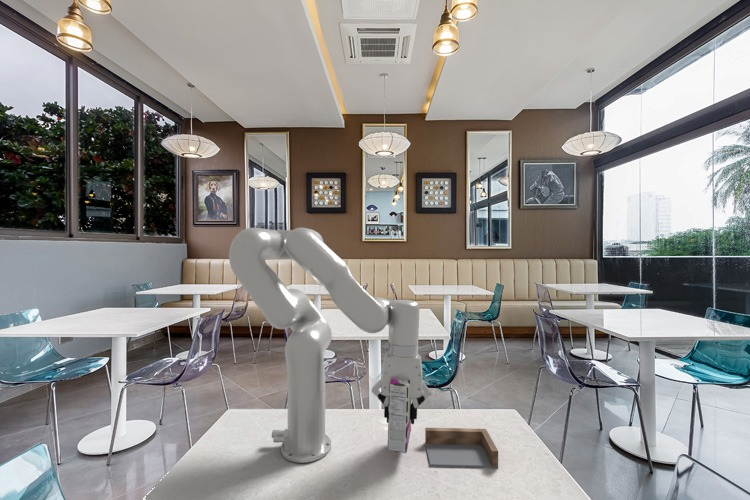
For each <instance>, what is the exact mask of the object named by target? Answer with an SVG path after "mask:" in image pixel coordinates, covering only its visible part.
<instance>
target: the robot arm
mask: <svg viewBox="0 0 750 500" xmlns="http://www.w3.org/2000/svg"><path fill="white" fill-rule="evenodd" d="M228 260H229V265H230V269H231V270H232V273H233V274H234V276H235V277H236V279H237V281H238V282H239V283H240V284H241V285H242V287H243V288H244V290H245V291H246V292H247V294H248V295H249V297H250V298H251V300H252V301H253V302H254V304H255V305H256V306H257V308H258V310H260V312H261V313H262V315H263V316H264V319H265V320H266V321H267V323H268V324H270V326H271V327H273V328H274V329H278V330H286V329H289V328H290V330H291V331H292V332H291V333H290V335H289V337H288V338H287V340H286V343H285V347H284V355H285V363H286V373H287V428H284V430H283V429H282V430H281V429H272V431H271V439H272V441H273V443H277V444H278V443H281V446H280V448H281V449H280V453H281V455H282V457H283V458H284V459H286V460H287V461H288V462H293V463H297V464H304V463H305V464H306V463H310V462H311V463H312V462H316V461H317V460H320V459H322V458H324V457H326V455H328V453H329V452H330V450H331V448H332V440H331V438H330V437H329V436H328V435H327V434H326V372H325V371H326V370H325V368H326V367H325V360H324V359H325V358H324V357H325V356H324V355H325V353H326V351H327V349H328V347H329V346H330V344H331V342H332V338H333V334H332V333H333V332H332V330H331V327H330V326H329V324H328V322H327V320H326V319H325V317H324V316H323V315H322V314H321V312H320V311H319V310H318V308H317V307H316V305H315V304H314V303H313V302H312V300H311V299H310V297H309V296H308V295H307V294H305V293H304V292H303V291H302V290H300V289H297V288H288V287H286V285H285V283H283V282H282V280H281V278H280V277H279V275H278V274H277V273H276V272H275V271H274V270H273V269H272V268H271V267H270V266H269V264H267V262H266V260H268V261H269V260H293V261H294V262H295V263H296V264H298V266H300V267H301V268H302V270H304V271H305V272H306V273H307V274H308V275H309V276H310V277H312V279H314V281H316V283H317V284H319V286H320V287H321V288H322V289H323V290H324V292H325V294H326V295H327V296H328V297H329V298H330V299H331V301H332V302H333V303H334V304H335V306H336V307H337V308H338V310H340V311H341V312H342V313H343V315H345V317H347V318H348V320H349V321H351V322H352V323H353V324H354V325H355V326H356V327H358V329H360V330H361V331H363V332H365V333H367V334H376V333H378V334H379V333H380V332H382V331H383V330H384V329H385V328H386V326H388V342H386V343H382V350H385V351H386V352H385V353H384V356H383V357H384V358H383V362H382V363H383V364H382V369H381V371H382V373H381V378H380V379H379V380H378V381H377V382H376V383H375V384H374V385H373V387H371V393H372V394H373V395H374V396H376V397H377V399H378V400H379V401H380V402H381V403H382V404H383V407H384V409H383V410H384V411H383V413H384V414H383V418H384V419H385V418H386V424H387V423H388V418H389V383H390V381H391V380H409V381H410V398H412V404H411V417H410V419H411V425H415V420H417V419H418V409H419V407H420V406H421V405H422V404H423V403H424V402H425V400H427V399H428V398H430V397H431V396H432V391H431V390H430V389H429V387H428V386H427V385H426V383H425V382H424V381H423V365H422V363H423V362H422V356H421V355H420V354H419V332H420V331H419V328H420V305H419V303H418V302H417V301H415V300H413V299H412V300H411V299H390V298H385V297H379V296H371V295H370V294H369V292H367V291H366V290H365V289H364V288H363V287H362V286H361V285H360V284H359V282H358V281H357V280H356V279H355V278H354V276H353V275H352V272H351V271H350V267H349V266H348V264H347V263H346V261H344V260H343V259H342V258H341V257H340V256H339V255H337V254H336V253H335V252H334V251H333V249H331V248H330V247H329V246H328V245H327V244H326V243H325V241H324V239H323V237H322V235H321V234H320V233H319V232H317V231H316V230H314V229H311V228H307V227H296V228H294V229H289V230H288V229H268V228H261V227H248V228H245V229H243V230H241V231H239V232H238V233H237V234H236V236H235V237H234V238H233V240H232V242H231V243H230V247H229V252H228Z"/></svg>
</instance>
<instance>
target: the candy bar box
mask: <svg viewBox="0 0 750 500" xmlns="http://www.w3.org/2000/svg"><path fill="white" fill-rule="evenodd" d="M411 404H412V398H410V381H409V380H391V381H390V383H389V418H388V426H387V451H390V452H396V453H402V454H407V451H408V447H409V443H410V436H411V432H412V424H411V419H410V417H411Z"/></svg>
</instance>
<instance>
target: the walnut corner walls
mask: <svg viewBox="0 0 750 500" xmlns="http://www.w3.org/2000/svg"><path fill="white" fill-rule="evenodd" d="M424 434H425V435H424V437H425V439H424V440H425V445H426V444H452V445H482V447H483V449H484V451H485V453H486V455H487V457H488V459H489V461H490V463H491V465H492V466H498V467H499V450H498V448H497V447H496V444H495V442H494V441H493V438H492V437H491V435H490V433H489V432H488V430H487V428H461V427H460V428H459V427H425V429H424Z"/></svg>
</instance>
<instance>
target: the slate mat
mask: <svg viewBox="0 0 750 500" xmlns="http://www.w3.org/2000/svg"><path fill="white" fill-rule="evenodd" d="M425 447H426V452H427V457H428V458H427V459H428V464H429V467H436V468H437V467H438V468H439V467H440V468H441V467H443V468H445V467H446V468H479V469H480V468H482V469H499V465H498V466H492V465H491V463H490V461H489V459H488V457H487V455H486V453H485V451H484V449H483V447H482V445H452V444H425Z"/></svg>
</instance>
